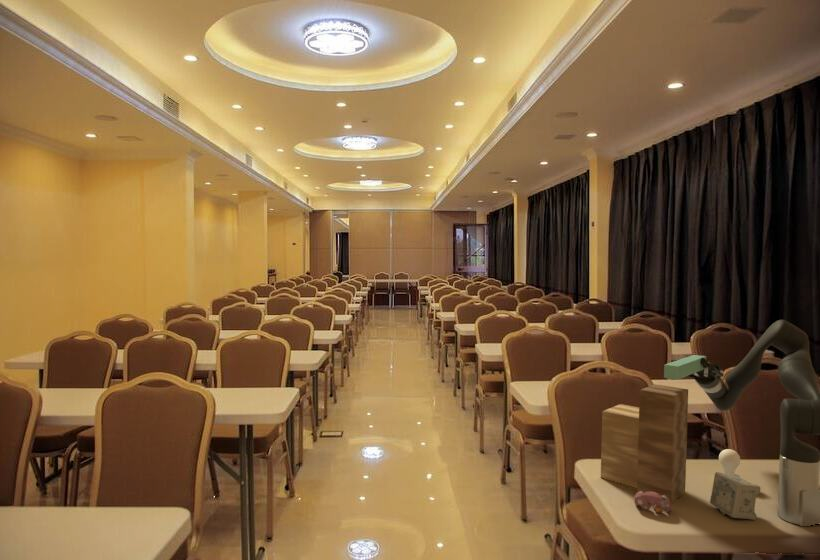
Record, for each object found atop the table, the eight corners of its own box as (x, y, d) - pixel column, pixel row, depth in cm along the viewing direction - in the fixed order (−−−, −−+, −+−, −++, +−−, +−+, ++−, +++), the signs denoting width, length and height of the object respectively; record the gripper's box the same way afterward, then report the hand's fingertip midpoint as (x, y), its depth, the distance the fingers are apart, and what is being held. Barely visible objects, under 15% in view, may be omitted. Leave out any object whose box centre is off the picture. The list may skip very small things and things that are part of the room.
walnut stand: (652, 483, 186) (655, 384, 185) (685, 492, 179) (688, 389, 178) (636, 494, 177) (639, 389, 176) (670, 504, 170) (673, 395, 169)
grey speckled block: (760, 520, 160) (761, 483, 160) (733, 522, 159) (734, 484, 159) (734, 505, 170) (736, 470, 170) (709, 507, 169) (710, 471, 168)
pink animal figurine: (633, 513, 167) (632, 495, 164) (635, 501, 171) (634, 483, 168) (671, 520, 163) (671, 502, 160) (672, 508, 166) (672, 490, 163)
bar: (693, 366, 195) (693, 354, 195) (705, 368, 193) (706, 356, 192) (663, 377, 177) (664, 364, 176) (677, 379, 174) (678, 366, 174)
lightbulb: (734, 480, 190) (735, 446, 189) (743, 487, 184) (744, 453, 183) (714, 479, 190) (715, 446, 190) (722, 486, 184) (724, 452, 184)
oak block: (619, 467, 200) (620, 403, 200) (654, 476, 192) (656, 410, 191) (600, 477, 190) (602, 411, 189) (637, 488, 182) (638, 418, 181)
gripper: (688, 366, 207) (674, 346, 196) (732, 371, 197) (720, 351, 186) (684, 385, 205) (669, 367, 194) (729, 392, 195) (715, 373, 184)
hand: (694, 359), depth 190 cm, fingers closed on bar, 4 cm apart
